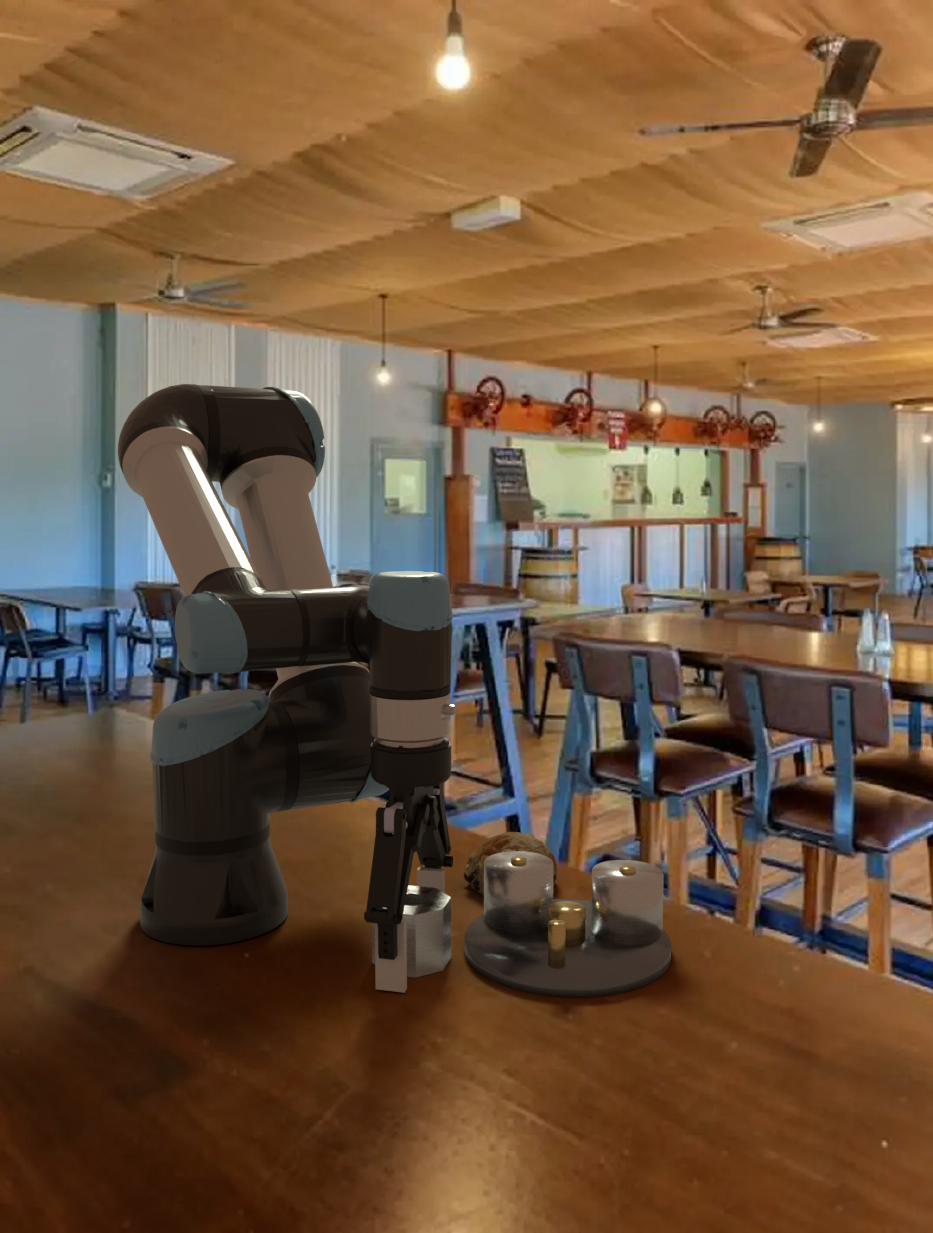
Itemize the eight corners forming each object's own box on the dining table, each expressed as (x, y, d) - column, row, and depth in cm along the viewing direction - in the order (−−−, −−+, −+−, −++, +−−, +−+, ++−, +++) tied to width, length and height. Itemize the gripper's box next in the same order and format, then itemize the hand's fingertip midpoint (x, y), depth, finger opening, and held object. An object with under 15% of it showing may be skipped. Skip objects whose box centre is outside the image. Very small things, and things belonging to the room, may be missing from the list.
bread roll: (528, 937, 117) (559, 876, 115) (446, 889, 119) (476, 828, 118) (547, 904, 127) (577, 847, 125) (472, 860, 129) (500, 803, 127)
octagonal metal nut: (364, 971, 101) (364, 909, 100) (388, 941, 107) (387, 883, 107) (437, 980, 99) (437, 917, 98) (456, 948, 106) (456, 889, 105)
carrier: (441, 982, 98) (440, 902, 97) (489, 902, 118) (489, 834, 117) (664, 1008, 93) (666, 924, 93) (676, 919, 113) (678, 849, 112)
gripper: (411, 773, 88) (413, 1024, 90) (480, 713, 111) (480, 913, 114) (324, 768, 90) (328, 1013, 92) (410, 710, 113) (411, 907, 116)
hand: (412, 958), depth 103 cm, fingers open, 12 cm apart
